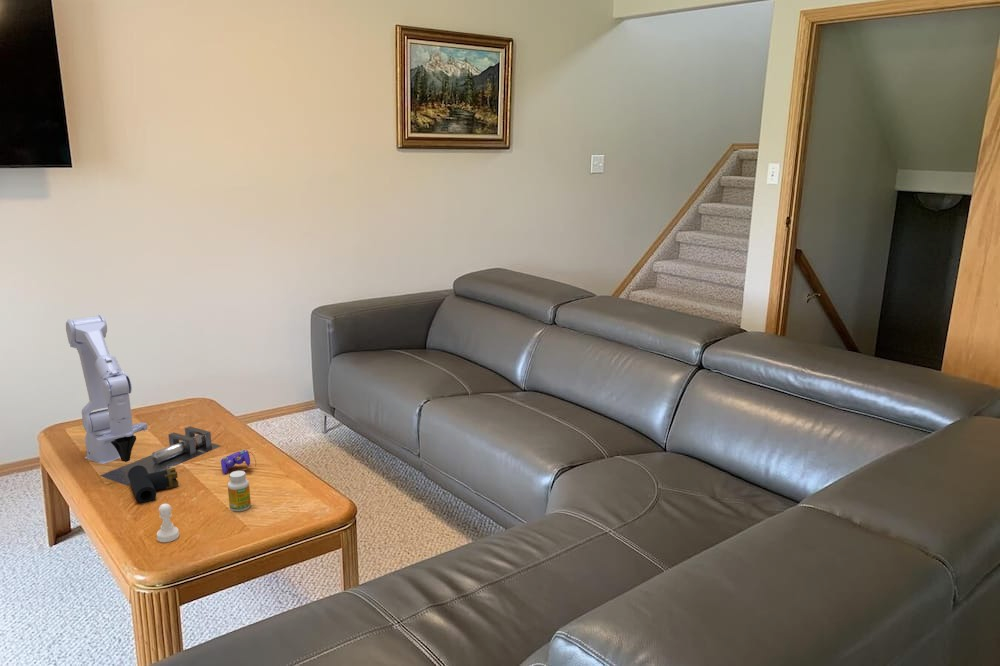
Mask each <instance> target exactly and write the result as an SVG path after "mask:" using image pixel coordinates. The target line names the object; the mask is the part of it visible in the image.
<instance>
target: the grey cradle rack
mask: <svg viewBox="0 0 1000 666" xmlns="http://www.w3.org/2000/svg"><path fill="white" fill-rule="evenodd" d="M167 435H168V443H169V444H168V445H169V446H171V445H174V444H176V443H179V442H181V441H185V447H186V452H185V453H182V454H180V455H177V456H175V457H173V458H170V459H168V460H165V461H163V462H160V463H158V464H156V463H155V462H154V461H153V459H152V454H151V455H149V456H146V457H144V458H141V459H138V460H136V461H134V462H131V463H128V464H125V465H122V466H121V467H118V468H115V469H112V470H110V471H108V472H105V473H103V474H101V475H99V476H100V477H101V478H104V479H107V480H111V481H113V482H116V483H119V484H122V485H125V486H127V487H128V486H131V483H130V481H129V478H128V472H129V470H130V469H131V468H132V467H134V466H138V465H140V466H143V467H145V468H146V470H147V472H148V474H150V473H154V472H159V471H162V470H166V469H171V468H175V466H178V465H181V464H183V463H186V462H188V461H189V460H192V459H194V458H197V457H200V456H203V455H204V454H206V453H208V452H211V451H213V450H216V449H218V448H221V447H222V445H220V444H216V443H212V434H211V431H208V430H204V429H200V428H197V427H194V426H187V427H184V434H181V433H177V432H171V433H169V434H167ZM196 435H201V439H202V446H200V447H197V448H195V438H192V437H194V436H196Z"/></svg>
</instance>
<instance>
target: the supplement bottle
mask: <svg viewBox="0 0 1000 666" xmlns="http://www.w3.org/2000/svg"><path fill="white" fill-rule="evenodd" d="M229 476H230V478H229V480H230V481H228V483H227V491H228V494H227V495H228V502H229V503H228V505H229V510H231V511H232V512H243V511H246V510H248V509H250V507H251V506H252V502H251V489H250V481H249V480H248V479H247V477H246V476H247V474H246V472H245V471H244V470H237V471H236V470H235V471H232V472H230V475H229Z"/></svg>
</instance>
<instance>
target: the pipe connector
mask: <svg viewBox="0 0 1000 666" xmlns="http://www.w3.org/2000/svg"><path fill="white" fill-rule="evenodd" d="M178 477H179V476H178V472H177V471H176V468H175V467H171V468H169V469H166V470H162V471H159V472H154V473H150V474H148V472H147V470H146V468H145V467H143V466H140V465H138V466H134V467H132V468H131V469H130V470H129V472H128V478H129V481H130V483H131V485H130V486H131V489H132V492H133V495H134V497H135V499H136V501H137V503H138V504H147V503H151V502H153V501H155V499H156V498H157V497H156V496H157V491H159V490H161V491H162V490H165V489H166V490H167V489H172V488H177V487H179V481H178Z"/></svg>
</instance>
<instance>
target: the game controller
mask: <svg viewBox="0 0 1000 666" xmlns="http://www.w3.org/2000/svg"><path fill="white" fill-rule="evenodd" d="M250 454H251V455H252V456H253V458H254V461H255V463H257V461H256V457H255V456H254V454H253V453H252V452H250V451H249V450H247V449H241V450H240V451H237V452H233V453H231V454H229V455H226V456H223V458H221V460H220V465H221V471H222V473H223V474H225V475H227V474H228V478H229V479H230V473H231V470H232V468H233V467H235V468H238V466H237V465H242V464H243V463H244V462H245V464H246V466H251V457H250ZM254 466H255V467H256V466H257V464H254ZM229 469H230V471H229V473H228V470H229ZM235 471H238V469H235Z"/></svg>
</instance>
